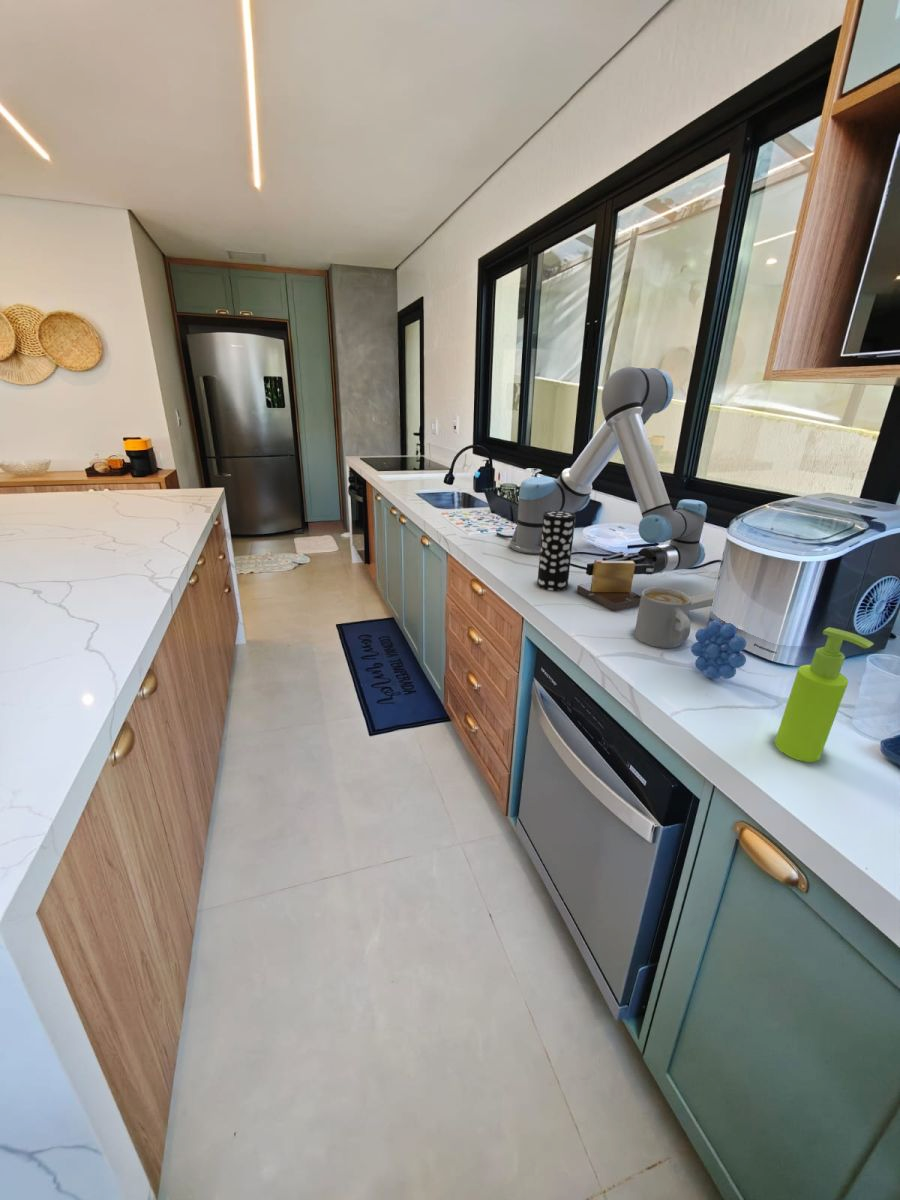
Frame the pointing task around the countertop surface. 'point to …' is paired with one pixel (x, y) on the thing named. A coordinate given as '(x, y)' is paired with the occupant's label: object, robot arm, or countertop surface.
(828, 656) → the soap dispenser
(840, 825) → the countertop surface
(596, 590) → the golden brown rectangular block
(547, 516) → the white-spotted black cylinder
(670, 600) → the coffee mug
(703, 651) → the blue bumpy cluster
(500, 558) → the countertop surface
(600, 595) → the dark brown flat slab
